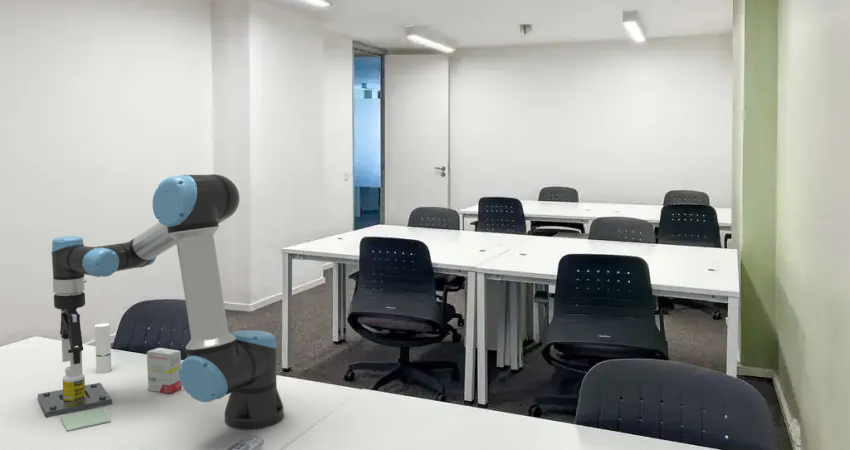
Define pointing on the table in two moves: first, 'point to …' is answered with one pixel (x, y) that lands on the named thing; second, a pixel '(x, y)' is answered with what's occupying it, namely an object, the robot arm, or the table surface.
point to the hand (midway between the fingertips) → (72, 367)
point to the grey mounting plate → (55, 407)
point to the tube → (103, 348)
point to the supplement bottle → (73, 386)
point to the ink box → (164, 370)
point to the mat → (85, 419)
